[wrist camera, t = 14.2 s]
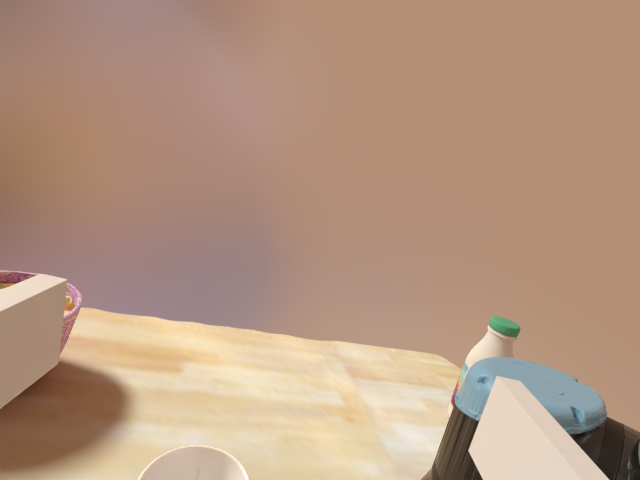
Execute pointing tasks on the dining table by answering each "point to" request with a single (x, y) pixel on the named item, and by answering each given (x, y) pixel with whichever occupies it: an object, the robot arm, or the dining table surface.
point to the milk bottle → (489, 348)
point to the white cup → (195, 465)
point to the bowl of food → (71, 303)
